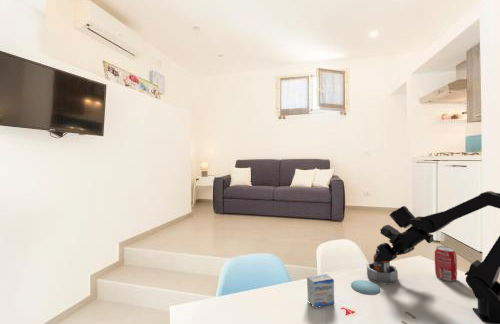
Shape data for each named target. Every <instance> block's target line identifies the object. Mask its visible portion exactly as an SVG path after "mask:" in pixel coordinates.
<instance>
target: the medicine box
mask: <svg viewBox="0 0 500 324" xmlns="http://www.w3.org/2000/svg"><path fill="white" fill-rule="evenodd" d="M306 280H307V281H306V284H307V285H306V286H307V289H306V290H307V302H308V301H309V302H310V303H311V304H312V305H313V306H314V307H318V308H320V307H319V306H323V307H326V305H327V306H331V304H332V305H335V281H334V278H333V277H331V276H330V275H328V274H321V275H320V274H319V275H314V276H308V277H306ZM309 302H308V303H309ZM310 303H309V304H310ZM311 304H310V305H311ZM312 305H311V306H312ZM313 306H312V307H313ZM314 307H313V308H314Z"/></svg>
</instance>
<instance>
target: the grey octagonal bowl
mask: <svg viewBox="0 0 500 324" xmlns="http://www.w3.org/2000/svg"><path fill="white" fill-rule="evenodd" d="M366 276H367V279H369V280H372V281H373V282H375V283H379V284H387V285H391V284H395V283H398V282H399V279H398V277H399V273H398V269H397V267H396V266H394V265H391V264H390V273H385V272H377V271H375V270H374V261H372V262H368V263H366Z"/></svg>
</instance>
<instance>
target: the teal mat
mask: <svg viewBox="0 0 500 324" xmlns="http://www.w3.org/2000/svg"><path fill="white" fill-rule="evenodd" d="M350 286H351V288H352V289H353V291H355V292H358V293H361V294H363V295H377V294H379V293H380V291H381V287H380V286H379V285H378V284H376V282H375V283H374V282H372V281H370V280H369V281H368V280H363V279H357V280H353V281H352V282H351V284H350Z"/></svg>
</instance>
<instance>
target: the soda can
mask: <svg viewBox="0 0 500 324" xmlns="http://www.w3.org/2000/svg"><path fill="white" fill-rule="evenodd" d="M457 261H458V259H457V253H456V251H455V249H454V248H452V247H449V246H444V245H441V246H440V245H439V246H436V248H435V250H434V273H435V276H436V277H437V278H439V279H441V280H443V281H447V282H453V281H456V280H457V277H458V262H457Z"/></svg>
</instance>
